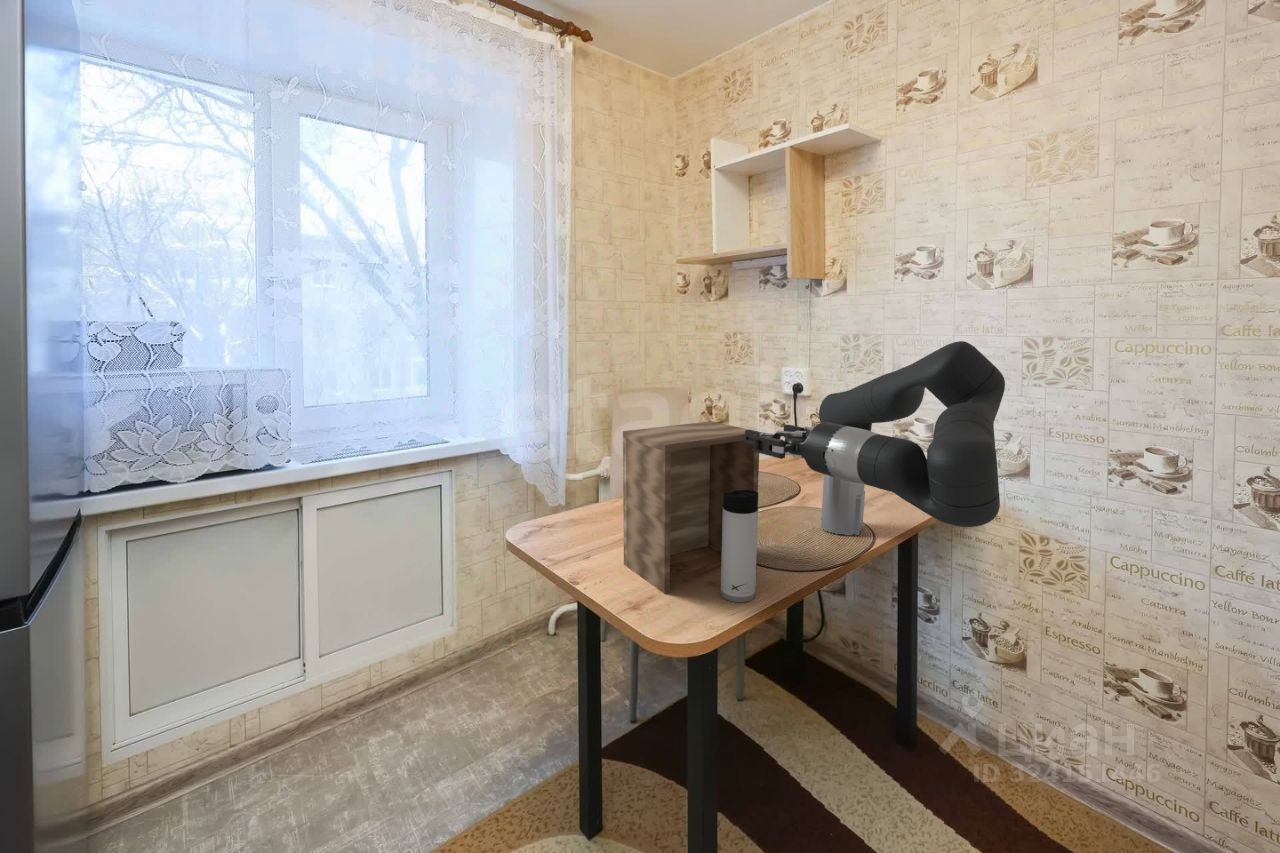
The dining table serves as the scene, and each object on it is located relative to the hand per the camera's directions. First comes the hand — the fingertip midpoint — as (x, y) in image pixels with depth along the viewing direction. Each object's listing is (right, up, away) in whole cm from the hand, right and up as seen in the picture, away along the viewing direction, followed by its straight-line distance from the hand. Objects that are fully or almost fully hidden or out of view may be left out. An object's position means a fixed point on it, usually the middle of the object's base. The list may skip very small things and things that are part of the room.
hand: (765, 433), depth 93 cm
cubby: (-10, -28, +23) cm, 37 cm away
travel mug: (-3, -30, +11) cm, 32 cm away
